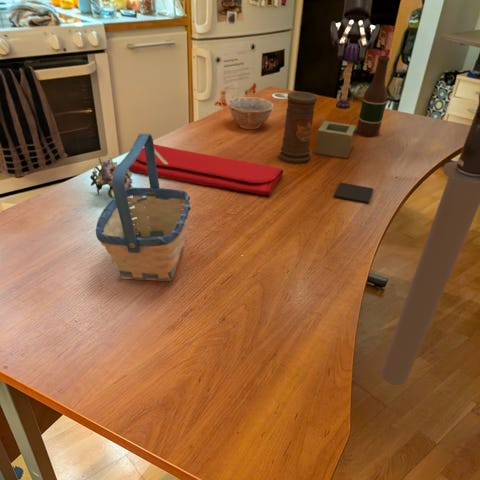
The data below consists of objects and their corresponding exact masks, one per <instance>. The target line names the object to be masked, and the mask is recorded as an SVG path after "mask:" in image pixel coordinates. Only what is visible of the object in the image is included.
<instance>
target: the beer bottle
mask: <svg viewBox="0 0 480 480" xmlns="http://www.w3.org/2000/svg"><path fill="white" fill-rule="evenodd" d="M376 60H377V63H376V68H375V70H374V75H373V79H372V81H371V83H370V85H368V87H367V88H366V90H365V91H364V94H363V97H362V102H361V107H360V112H359V117H358V121H357V125H356V133H358V134H359V136H364V137H377V135H379V133H380V129H381V126H382V121H383V117H384V113H385V109H386V104H387V101H388V100H387V99H388V89H387V87H386V77H387V71H388V67H389V66H388V65H389V62H390V56H388V55H379V56H378V57H377V59H376Z"/></svg>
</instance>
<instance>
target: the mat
mask: <svg viewBox="0 0 480 480" xmlns="http://www.w3.org/2000/svg"><path fill="white" fill-rule="evenodd" d="M373 189H374V188H373V187H367V186H362V185H357V184H351V183H347V182H346V183H345V182H340V183H339V185H338V187H337V189H336V191H335V193H334V196H333V197H334V198H335V199H336V198H337V199H341V200H347V201H351V202H355V203H356V202H357V203H362V204H368V205H369V203H370V200H371V196H372V194H373Z"/></svg>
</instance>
